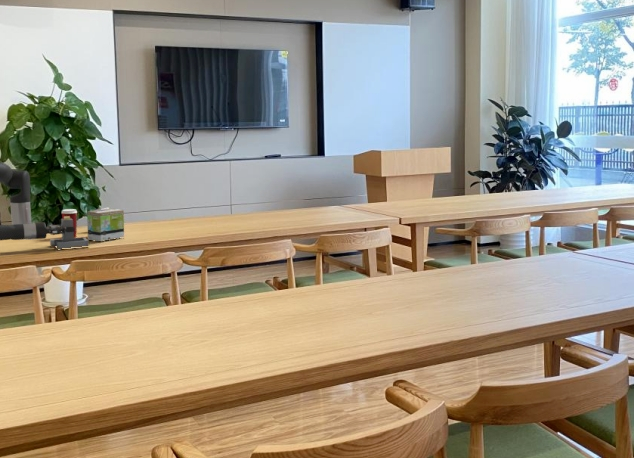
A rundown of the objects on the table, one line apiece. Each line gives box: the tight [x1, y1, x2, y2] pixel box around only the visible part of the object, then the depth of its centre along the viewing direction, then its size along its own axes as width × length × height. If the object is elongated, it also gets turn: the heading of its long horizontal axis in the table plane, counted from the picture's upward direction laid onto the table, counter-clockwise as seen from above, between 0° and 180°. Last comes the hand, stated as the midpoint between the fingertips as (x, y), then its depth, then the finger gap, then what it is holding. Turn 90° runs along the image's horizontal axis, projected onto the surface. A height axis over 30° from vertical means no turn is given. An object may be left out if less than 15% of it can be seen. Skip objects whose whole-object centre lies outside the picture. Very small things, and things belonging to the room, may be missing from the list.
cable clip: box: [49, 238, 55, 247], centre depth 322 cm, size 3×4×3 cm
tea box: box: [86, 208, 125, 242], centre depth 339 cm, size 15×10×15 cm, turn 148°
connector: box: [60, 216, 74, 242], centre depth 317 cm, size 4×4×12 cm
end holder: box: [53, 236, 90, 250], centre depth 319 cm, size 10×14×4 cm
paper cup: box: [60, 208, 78, 238], centre depth 344 cm, size 8×8×14 cm
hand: (73, 228), depth 318 cm, fingers closed on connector, 4 cm apart
